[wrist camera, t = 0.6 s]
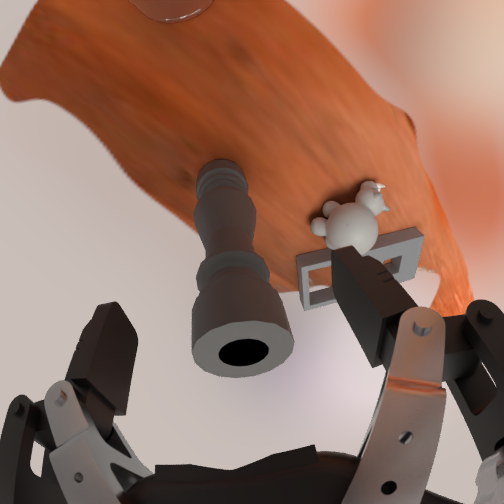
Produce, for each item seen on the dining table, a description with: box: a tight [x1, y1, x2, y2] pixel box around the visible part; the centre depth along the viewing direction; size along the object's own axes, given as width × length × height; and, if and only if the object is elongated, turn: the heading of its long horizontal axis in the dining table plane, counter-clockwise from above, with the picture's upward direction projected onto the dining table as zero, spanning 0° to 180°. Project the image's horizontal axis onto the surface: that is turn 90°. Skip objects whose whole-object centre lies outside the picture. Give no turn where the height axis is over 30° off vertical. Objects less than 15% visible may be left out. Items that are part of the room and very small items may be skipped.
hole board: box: [296, 227, 424, 311], centre depth 45 cm, size 10×23×3 cm, turn 100°
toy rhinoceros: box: [311, 181, 390, 255], centre depth 36 cm, size 7×12×8 cm, turn 131°
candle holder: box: [192, 159, 294, 378], centre depth 25 cm, size 6×6×25 cm
